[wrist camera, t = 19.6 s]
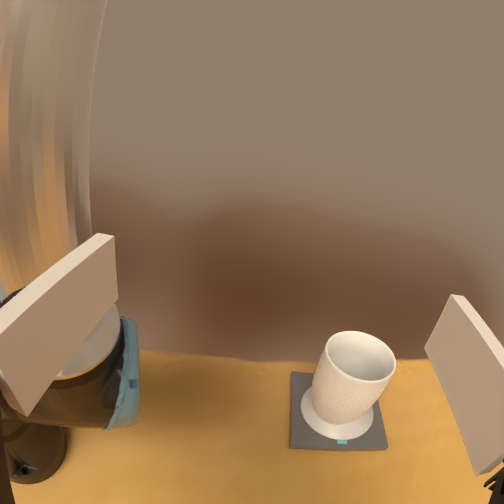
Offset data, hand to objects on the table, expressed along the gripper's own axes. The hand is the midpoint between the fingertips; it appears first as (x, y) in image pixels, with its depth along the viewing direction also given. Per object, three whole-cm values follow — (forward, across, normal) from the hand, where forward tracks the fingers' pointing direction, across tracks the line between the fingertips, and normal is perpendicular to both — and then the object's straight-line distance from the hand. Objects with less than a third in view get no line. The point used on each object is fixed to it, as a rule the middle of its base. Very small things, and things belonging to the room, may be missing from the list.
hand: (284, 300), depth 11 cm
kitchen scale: (+23, +16, -35) cm, 45 cm away
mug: (+23, +16, -34) cm, 44 cm away
